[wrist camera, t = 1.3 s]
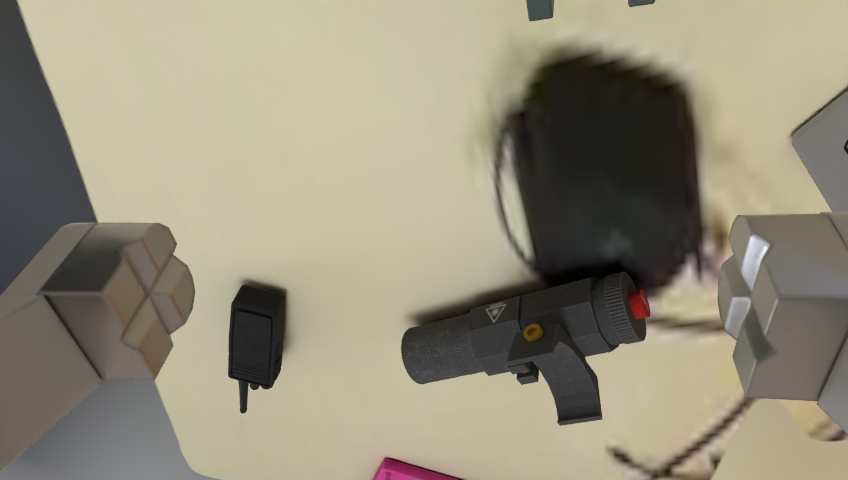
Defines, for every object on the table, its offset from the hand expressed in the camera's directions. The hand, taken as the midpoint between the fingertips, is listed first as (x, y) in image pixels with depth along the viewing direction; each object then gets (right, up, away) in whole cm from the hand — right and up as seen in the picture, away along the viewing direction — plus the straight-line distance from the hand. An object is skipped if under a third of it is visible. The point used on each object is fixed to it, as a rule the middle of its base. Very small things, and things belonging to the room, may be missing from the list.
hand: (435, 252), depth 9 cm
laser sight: (+9, -6, +51) cm, 52 cm away
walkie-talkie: (-18, -11, +62) cm, 66 cm away
